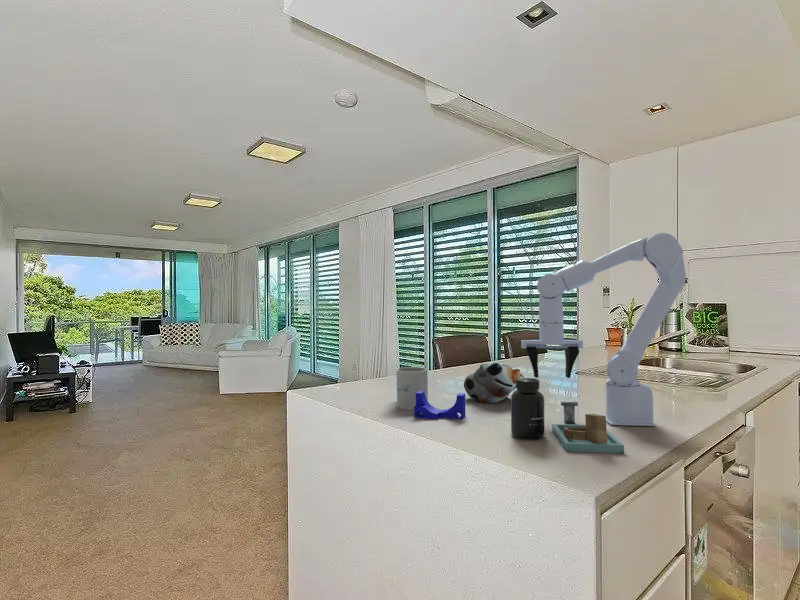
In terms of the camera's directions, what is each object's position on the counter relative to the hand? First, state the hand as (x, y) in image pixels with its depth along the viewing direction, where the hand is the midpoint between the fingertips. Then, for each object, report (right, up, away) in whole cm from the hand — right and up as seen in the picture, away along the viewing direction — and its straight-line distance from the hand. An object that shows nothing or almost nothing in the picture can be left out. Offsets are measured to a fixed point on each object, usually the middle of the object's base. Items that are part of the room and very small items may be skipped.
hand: (552, 377), depth 112 cm
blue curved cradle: (-28, -10, 0) cm, 30 cm away
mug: (-35, -10, +14) cm, 39 cm away
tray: (0, -9, -21) cm, 23 cm away
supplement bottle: (-11, -10, -17) cm, 22 cm away
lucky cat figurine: (-11, -10, +18) cm, 23 cm away
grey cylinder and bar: (+2, -9, -7) cm, 12 cm away
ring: (-1, -8, -23) cm, 24 cm away
